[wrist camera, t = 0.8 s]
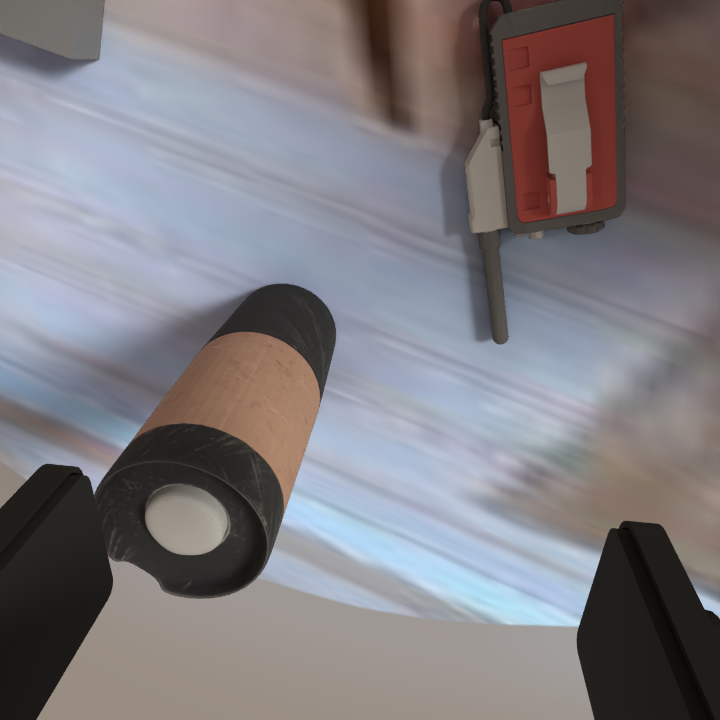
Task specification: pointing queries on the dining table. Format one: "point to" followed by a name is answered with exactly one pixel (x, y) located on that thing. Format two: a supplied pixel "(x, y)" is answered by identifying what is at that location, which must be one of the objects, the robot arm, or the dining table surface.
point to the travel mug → (222, 450)
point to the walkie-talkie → (547, 129)
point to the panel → (55, 25)
